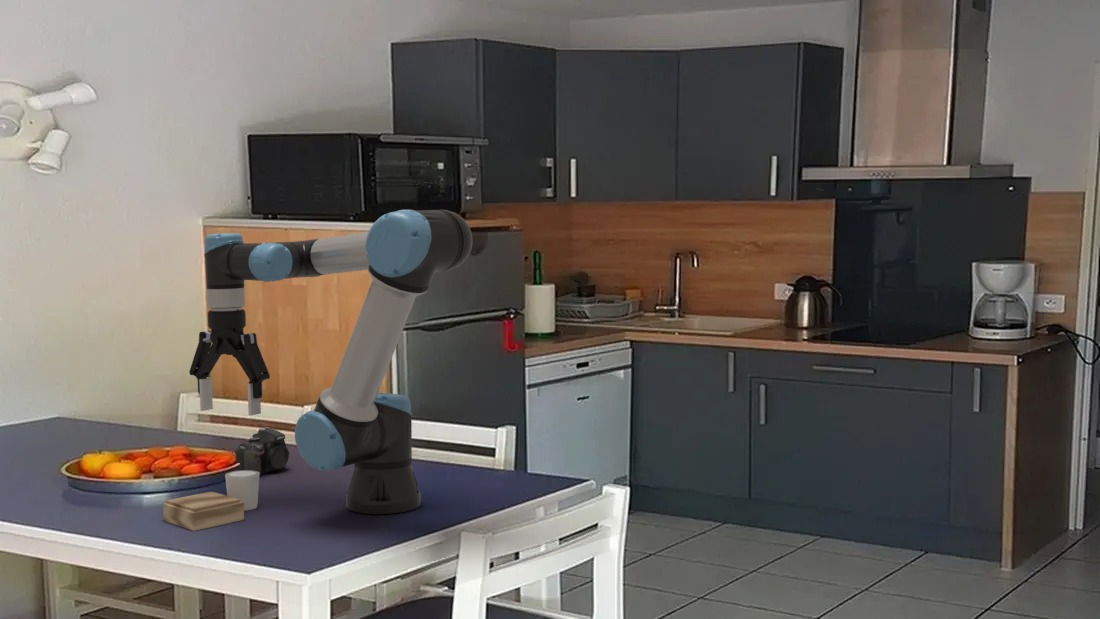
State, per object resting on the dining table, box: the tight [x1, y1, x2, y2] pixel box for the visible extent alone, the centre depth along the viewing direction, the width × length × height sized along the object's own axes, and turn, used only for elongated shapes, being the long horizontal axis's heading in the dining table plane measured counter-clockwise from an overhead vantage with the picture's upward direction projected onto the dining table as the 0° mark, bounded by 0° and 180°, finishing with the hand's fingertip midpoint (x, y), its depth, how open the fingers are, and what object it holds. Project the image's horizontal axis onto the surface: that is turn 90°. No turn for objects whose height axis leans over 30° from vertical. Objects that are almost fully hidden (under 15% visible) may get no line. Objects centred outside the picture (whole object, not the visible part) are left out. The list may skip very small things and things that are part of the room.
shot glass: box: [224, 470, 260, 512], centre depth 256 cm, size 7×7×7 cm
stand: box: [162, 491, 245, 532], centre depth 247 cm, size 11×11×4 cm
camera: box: [234, 426, 290, 478], centre depth 289 cm, size 13×10×10 cm
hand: (230, 412), depth 261 cm, fingers open, 13 cm apart
